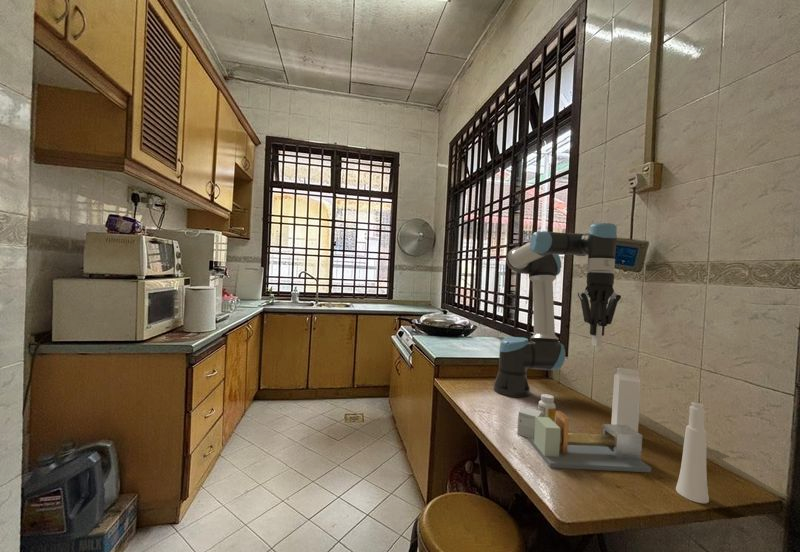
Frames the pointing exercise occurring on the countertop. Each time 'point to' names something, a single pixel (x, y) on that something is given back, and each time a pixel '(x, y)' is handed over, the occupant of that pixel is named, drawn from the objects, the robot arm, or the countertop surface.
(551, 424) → the socket
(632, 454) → the grey cube end cap
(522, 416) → the product box
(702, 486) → the cosmetic bottle
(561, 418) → the tube
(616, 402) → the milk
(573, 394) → the countertop surface
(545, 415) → the supplement bottle
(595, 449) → the board
